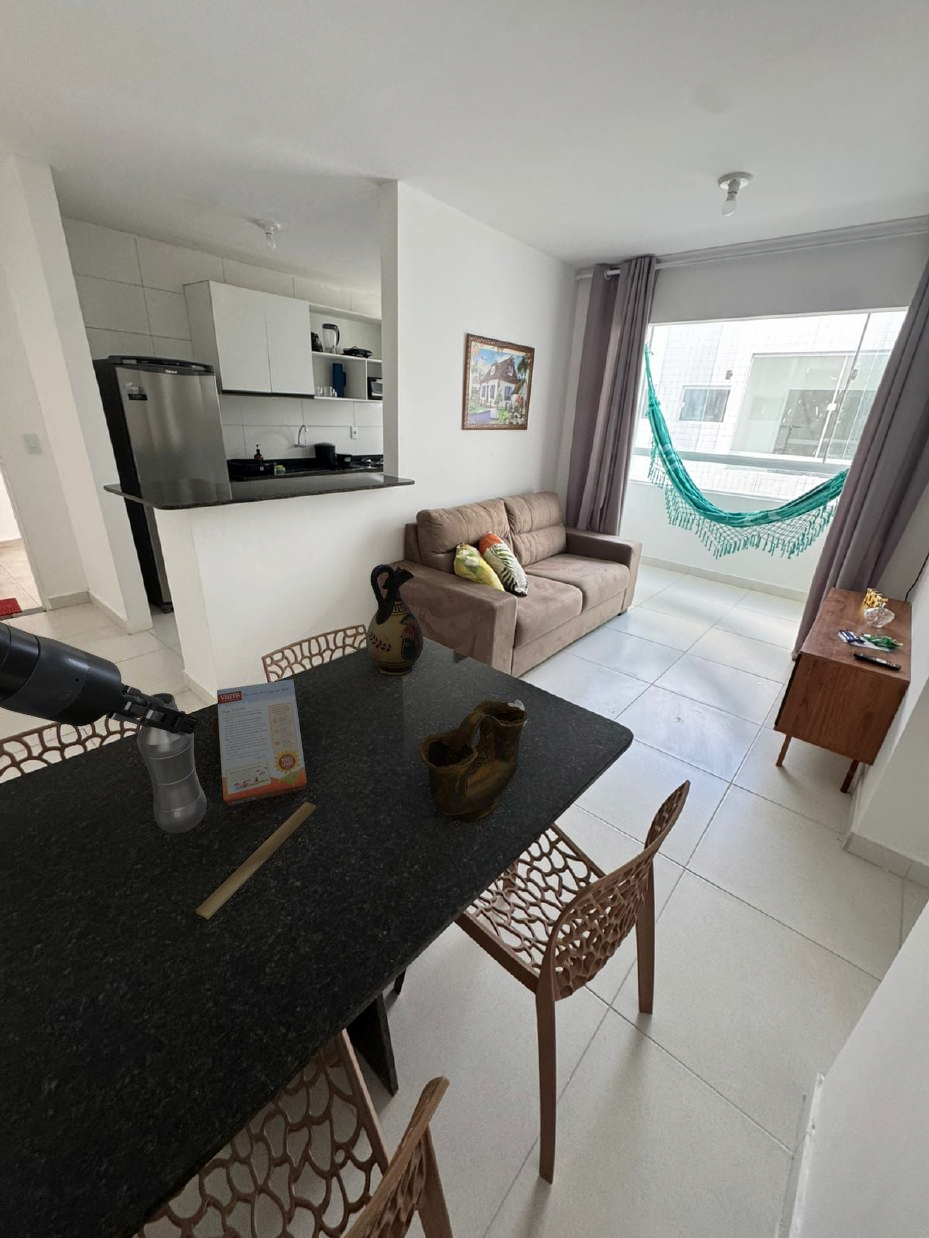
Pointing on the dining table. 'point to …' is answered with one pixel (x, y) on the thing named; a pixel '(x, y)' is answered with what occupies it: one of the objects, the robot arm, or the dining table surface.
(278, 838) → the strip
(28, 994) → the dining table surface
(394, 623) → the ceramic jug
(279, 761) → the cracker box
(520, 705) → the elephant figurine
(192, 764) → the plastic bottle
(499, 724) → the pottery vessel
